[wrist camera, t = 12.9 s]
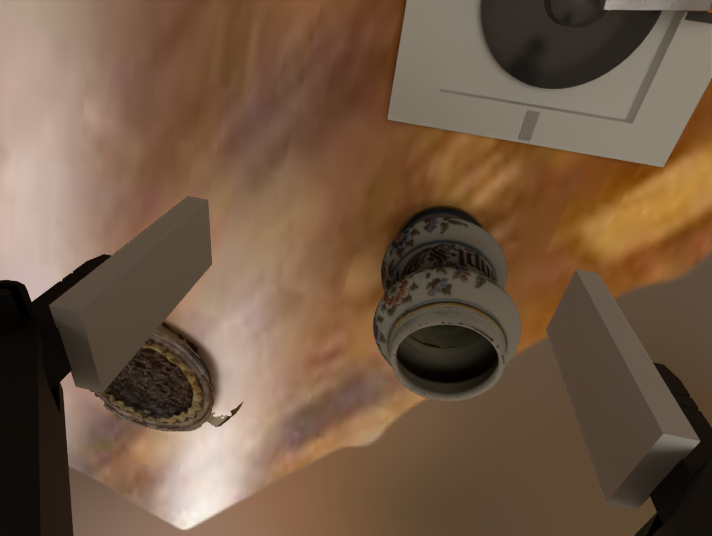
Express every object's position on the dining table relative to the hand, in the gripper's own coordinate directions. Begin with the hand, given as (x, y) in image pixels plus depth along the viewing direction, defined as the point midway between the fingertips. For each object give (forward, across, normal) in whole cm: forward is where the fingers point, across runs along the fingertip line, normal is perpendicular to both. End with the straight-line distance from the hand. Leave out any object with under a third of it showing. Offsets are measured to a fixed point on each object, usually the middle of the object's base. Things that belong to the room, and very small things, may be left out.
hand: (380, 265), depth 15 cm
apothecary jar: (+29, +6, -14) cm, 33 cm away
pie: (+29, -30, -42) cm, 60 cm away
